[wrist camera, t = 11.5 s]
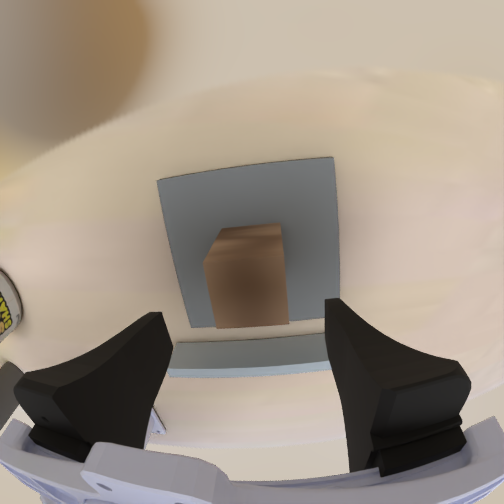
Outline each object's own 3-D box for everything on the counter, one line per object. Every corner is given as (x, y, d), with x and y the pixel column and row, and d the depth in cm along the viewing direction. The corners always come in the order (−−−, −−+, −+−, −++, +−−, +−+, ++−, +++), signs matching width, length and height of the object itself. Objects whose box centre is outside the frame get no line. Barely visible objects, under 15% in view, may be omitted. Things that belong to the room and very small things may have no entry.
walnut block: (230, 280, 21) (216, 328, 16) (221, 228, 20) (202, 262, 14) (285, 276, 21) (289, 324, 15) (280, 222, 20) (284, 255, 14)
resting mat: (192, 323, 24) (191, 327, 23) (159, 179, 20) (156, 180, 19) (338, 311, 22) (339, 315, 22) (331, 157, 18) (333, 157, 18)
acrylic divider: (179, 351, 25) (169, 377, 22) (177, 342, 25) (166, 368, 21) (359, 337, 23) (369, 363, 20) (360, 328, 23) (370, 354, 20)
